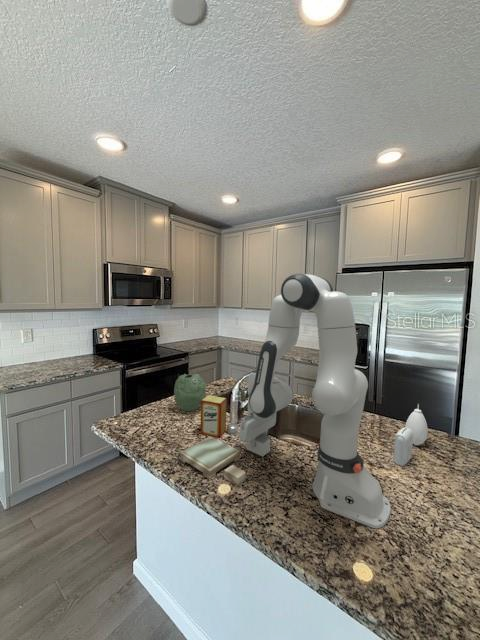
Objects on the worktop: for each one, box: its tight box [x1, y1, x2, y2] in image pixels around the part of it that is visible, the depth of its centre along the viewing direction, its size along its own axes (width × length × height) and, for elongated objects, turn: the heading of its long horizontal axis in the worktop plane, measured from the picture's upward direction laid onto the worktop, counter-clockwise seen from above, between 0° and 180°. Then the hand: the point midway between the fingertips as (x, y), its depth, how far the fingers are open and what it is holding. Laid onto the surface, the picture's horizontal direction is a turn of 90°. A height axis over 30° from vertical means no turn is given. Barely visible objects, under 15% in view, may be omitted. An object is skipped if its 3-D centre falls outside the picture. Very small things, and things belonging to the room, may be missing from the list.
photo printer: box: [392, 426, 413, 467], centre depth 104 cm, size 10×4×12 cm, turn 132°
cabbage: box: [173, 373, 208, 412], centre depth 144 cm, size 16×19×20 cm
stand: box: [179, 436, 241, 480], centre depth 102 cm, size 16×16×3 cm
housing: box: [245, 433, 271, 457], centre depth 107 cm, size 8×5×6 cm, turn 50°
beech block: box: [223, 464, 247, 487], centre depth 91 cm, size 6×4×3 cm, turn 50°
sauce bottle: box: [404, 403, 428, 446], centre depth 116 cm, size 8×8×18 cm
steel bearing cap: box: [226, 422, 239, 436], centre depth 123 cm, size 5×5×3 cm
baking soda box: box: [200, 394, 228, 439], centre depth 121 cm, size 10×6×16 cm
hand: (258, 443), depth 107 cm, fingers closed on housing, 5 cm apart
